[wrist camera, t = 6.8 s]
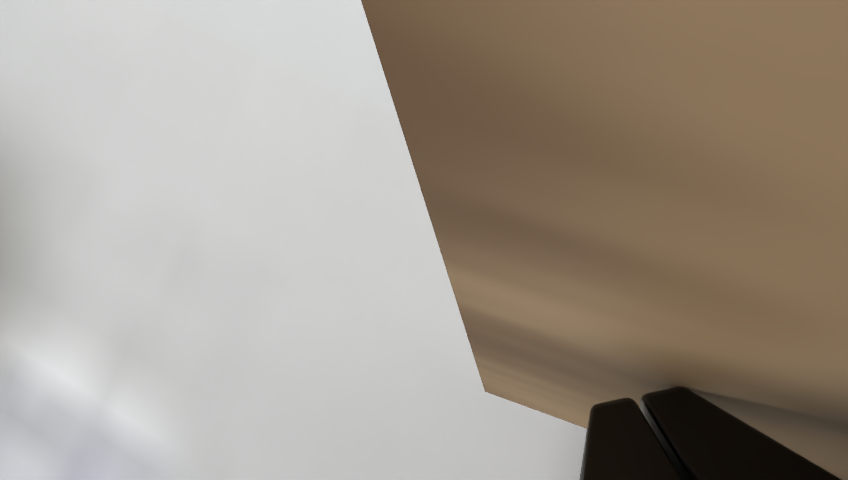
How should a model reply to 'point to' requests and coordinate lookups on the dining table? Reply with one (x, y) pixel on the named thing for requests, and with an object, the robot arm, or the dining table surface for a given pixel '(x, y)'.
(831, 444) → the gate panel
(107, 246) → the dining table surface
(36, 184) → the dining table surface
